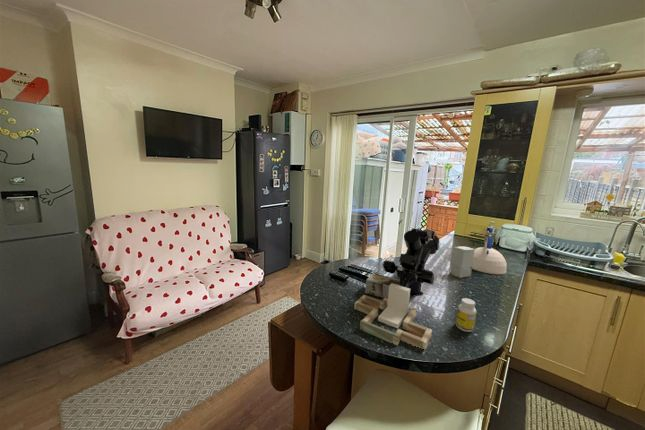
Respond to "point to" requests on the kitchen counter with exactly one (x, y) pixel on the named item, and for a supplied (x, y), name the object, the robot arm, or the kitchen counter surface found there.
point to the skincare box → (462, 261)
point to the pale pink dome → (488, 259)
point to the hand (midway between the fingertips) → (401, 291)
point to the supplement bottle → (466, 315)
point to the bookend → (396, 306)
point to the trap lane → (413, 336)
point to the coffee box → (380, 285)
